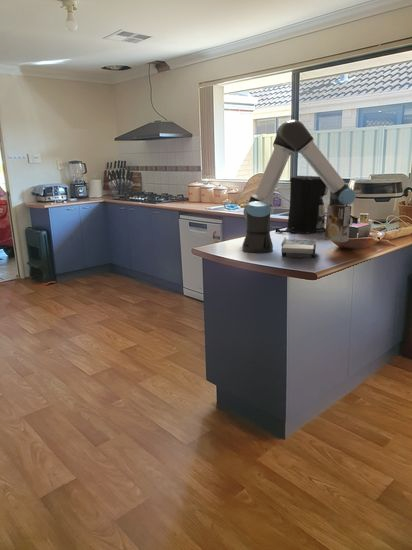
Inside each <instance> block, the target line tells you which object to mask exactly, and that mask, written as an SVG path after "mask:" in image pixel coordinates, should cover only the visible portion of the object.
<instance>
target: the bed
mask: <svg viewBox="0 0 412 550" xmlns="http://www.w3.org/2000/svg"><path fill="white" fill-rule="evenodd" d="M284 244H299V245H314V248H313V254H308V253H285V252H281V257H285V258H286V257H287V258H302V259H304V258H305V259H312V258H316V248H317V238H314V239H291V238H287V237H284V238H283V240H282V241H281V245H280V246H281V248H282V247H283V245H284Z"/></svg>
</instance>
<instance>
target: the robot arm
mask: <svg viewBox="0 0 412 550" xmlns="http://www.w3.org/2000/svg"><path fill="white" fill-rule="evenodd" d="M314 140H315V139H314V137H313V136H312V134H311V133H310V132H309V130H308V129H307V128H306V126H305V125H304V124H303V122H301V121H299V120H297V119H290V120H288V121H285V122H283V123H281V125H280V126H278V128H277V130H276V136H275V137H274V141H273V143H272V147H273V150H272V152H271V155H270V158H269V160H268V162H267V164H266V167H265V169H264V171H263V173H262V176H261V179H260V181H259V184H258V186H257V187H256V190H255V193H253V194H251V195H250V197H249V200H248V202H247V204H246V205H245V207H244V208H243V217H244V219H245V221H246V222H245V230H246V231H245V237H244V239H243V242H242V247H241V248H242V251H243V252H246V253H252V254H253V253H254V254H260V253H261V254H262V253H263V254H264V253H269V252H272V251H273V250H274V248H273V247H274V244H273V241H272V238H271V213H272V212H271V211H272V208H271V207H272V205H273V204H272V201H271V199H272V198H273V195H274V193H275V191H276V189H277V186H278V183H279V181H280V179H281V177H282V174H283V172H284V170H285V168H286V165H287V163H288V161H289V159H290V156H292V155H293V154H295V153H298V154H301V156H302V157H303V158H304V160H305V161H306V162H307V163H308V164H309V166H310V167H311V169H313V171H314V172H315V173H316V175H317V176H318V177H320V178H321V179H322V181H323V182H324V183H325V184H326V186H327V187H328V188H329V189H328V190H329V191H330V193H329V195H330V196H329V205H346V206H350V205H351V204H353V203H354V202H355V200H356V198H357V196H356V195H357V194H356V192H355V191H354V190H353V189H351V188H350V187H349V185H347V183H346V182H345V180H344V179H343V178H342V177H341V175H340V174H339V173H338V172H337V170H336V169H335V168H334V167H333V165H332V164H331V163H330V161H329V160H328V159H327V157H326V156H325V155H324V153H322V151H321V150H320V148H318V146H317V145H316V144H315V142H314ZM321 221H322V224H325V225H326V221H327V214H326V213H325V214H323V215H321V216H318V222H321ZM358 223H359V217H356V216H354V215H351V216H350V226H351V227H352V226H353V225H354V224H358Z"/></svg>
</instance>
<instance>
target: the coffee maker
mask: <svg viewBox="0 0 412 550" xmlns="http://www.w3.org/2000/svg"><path fill="white" fill-rule="evenodd" d="M329 190H330V189H329V188H328V187H327V186H326V184H325V183H324V182H323V181H322V179H321V178H320V177H319V176H318V175H317V176H316V175H314V176H313V175H294V176H291V177H290V193H289V195H290V196H289V209H288V210H289V212H288V219H287V227H286V229H284V230H283V229H282V230H281V229H279V227H278V228H277V227H276V228H275V233H293V234H314V233H313V232H317V233H322V232H321V231H324V232H325V231H326V224H322V221H321V222H318V216H321V215H323V214H325V215H326V210H325V204H324V200H323V197H324V196H326V195H328V192H329Z"/></svg>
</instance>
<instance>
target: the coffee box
mask: <svg viewBox="0 0 412 550" xmlns="http://www.w3.org/2000/svg"><path fill="white" fill-rule="evenodd" d="M351 213H352V205H327V208H326V216H327V221H326V224H325V228H326V232H325V231H324V232H325V233H324V235H325V237H324V240H325V241H330V242H338V243H345V242H348V241H349V237H350V235H349V234H350V216H351Z"/></svg>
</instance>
